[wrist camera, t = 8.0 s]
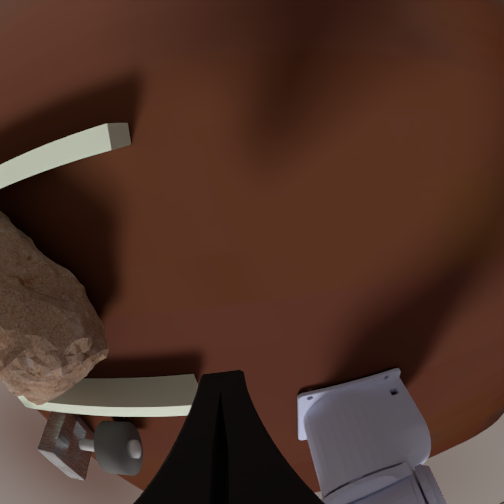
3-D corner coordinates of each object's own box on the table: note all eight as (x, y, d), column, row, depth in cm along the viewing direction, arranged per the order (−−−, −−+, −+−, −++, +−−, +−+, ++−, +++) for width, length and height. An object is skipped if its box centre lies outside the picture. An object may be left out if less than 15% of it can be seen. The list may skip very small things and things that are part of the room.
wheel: (129, 410, 21) (120, 460, 17) (150, 440, 24) (145, 484, 19) (75, 408, 21) (61, 451, 16) (99, 437, 23) (90, 477, 19)
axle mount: (69, 403, 21) (52, 452, 16) (95, 434, 24) (85, 480, 18) (54, 402, 21) (37, 449, 16) (81, 433, 24) (69, 477, 18)
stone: (135, 312, 20) (120, 336, 11) (78, 404, 18) (41, 472, 8) (20, 213, 18) (-47, 172, 8) (-31, 306, 15) (-105, 312, 6)
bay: (127, 122, 13) (107, 123, 11) (197, 383, 21) (196, 414, 18) (-50, 195, 13) (-75, 208, 10) (37, 384, 20) (26, 407, 18)
